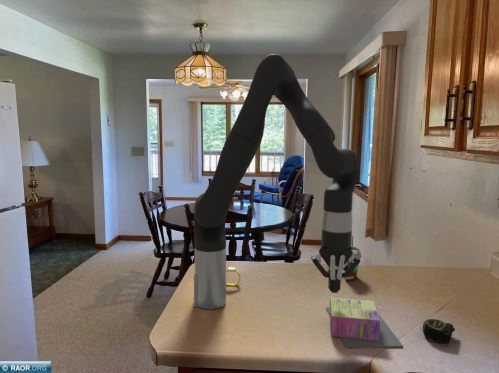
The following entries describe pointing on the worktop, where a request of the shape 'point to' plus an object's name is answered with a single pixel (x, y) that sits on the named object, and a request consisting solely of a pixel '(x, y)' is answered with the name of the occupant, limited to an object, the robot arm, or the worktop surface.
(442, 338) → the tape measure
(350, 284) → the worktop surface
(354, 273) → the food container
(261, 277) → the worktop surface
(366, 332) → the box
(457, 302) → the worktop surface
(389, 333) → the mat
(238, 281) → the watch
